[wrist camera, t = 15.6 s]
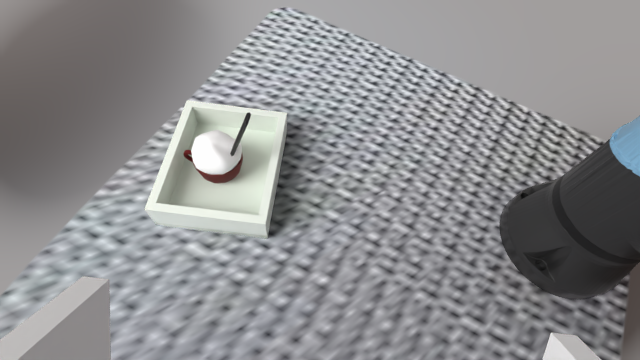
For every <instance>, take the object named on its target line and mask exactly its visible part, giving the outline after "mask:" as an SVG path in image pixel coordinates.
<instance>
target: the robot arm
mask: <svg viewBox="0 0 640 360" xmlns="http://www.w3.org/2000/svg"><path fill="white" fill-rule="evenodd" d="M500 234H501V239H502V242H503V245H504V248H505V250H506V252H507V254H508V256H509V257H510V259H511V261H512V262H513V263H514V265H515V266H516V267H517V269H518V270H519V271H520V272H521V273H522V274H523V275H524V276H525V277H526V278H527V279H529V280H530V281H531V282H532V283H534V284H535V285H537V286H538V287H540V288H541V289H543V290H545V291H547V292H549V293H551V294H554V295H556V296H559V297H563V298H568V299H587V298H591V297H594V296H597V295H600V294H603V293H606V292H608V291H610V290H611V289H613V288H615V287H616V286H617V285H618V284H619V283H620V282H621V280H622V279H623V278H624V277H625V276H626V275H627V274H628V273H629V272H630V271H631V270H632V269H633V268H634V267H635V266H636V265H637V264H638V263H639V262H640V116H639V117H637V118H636V119H634V120H633V121H632V122H630V123H627V124H625V125H623V126H621V127H620V128H619V129H617V130H616V131H615V132H614V133H613V134H612V137H611V139H609V140H608V141H607V142H605V143H604V144H603V145H602V146H600V147H599V148H598V149H597V150H595V151H594V152H593V153H591V154H590V155H589V156H588V157H586V158H585V159H584V160H582V161H581V162H580V163H579V164H577V165H576V166H575V167H573V168H572V169H571V170H570V171H568V172H567V173H566V174H565V175H563V176H562V177H561V178H559V179H555V180H552V181H549V182H545V183H542V184H539V185H535V186H532V187H529V188H527V189H525V190H523V191H522V192H520V193H519V194H518V195H516V196H515V197H514V198H513V199H512V200H511V201H510V202H509V203H508V204H507V205H506V206H505V208H504V210H503V212H502V215H501V219H500ZM110 359H111V346H110V295H109V279H101V278H92V277H84V276H83V277H81V278H80V279H79V280H78V281H76V282H75V283H74V284H72V285H71V286H70V287H68V288H67V289H66V290H65V291H63V292H62V293H61V294H59V295H58V296H57V297H55V298H54V299H53V300H51V301H50V302H49V303H48V304H46V305H45V306H44V307H42V308H41V309H40V310H38V311H37V312H36V313H35V314H33V315H32V316H31V317H29V318H28V319H27V320H25V321H24V322H23V323H21V324H20V325H19V326H18V327H16V328H15V329H14V330H12V331H11V332H10V333H8V334H7V335H6V336H5V337H3V338H2V339H1V340H0V360H110ZM542 360H601V359H600V358H599V357H598V356H597V355H596V354H595V353H594V352H593V351H592V350H591V349H590V348H589V347H588V346H587V345H586V344H585V343H584V342H583V341H582V340H581V339H580V338H579V337H578V336H576V335H568V334H560V333H551V335H550V338H549V341H548V344H547V347H546V350H545V353H544V356H543V359H542Z"/></svg>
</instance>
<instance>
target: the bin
mask: <svg viewBox="0 0 640 360" xmlns="http://www.w3.org/2000/svg"><path fill="white" fill-rule="evenodd" d="M249 112H250V114H251V117H250V120H249V123H248V125H247V127H246V130H245V132H244V134H243V136H242V138H241V141H240V143H241V146H242V154H243V162H242V165H241V169H240V172H239V174H238V175H237V176H236V177H235V178H234V179H232V180H230V181H228V182H226V183H213V182H210V181H207V180H206V179H204V178H203V176H202V175H201V174H200V173H199V172H198V171H197V170H196V169H195V167H194V164H193V162H191V161H189V160H188V159H186V158H185V157H184V155H183V153H184V151H185V150H192V147H193V143H194V140H195V138H196V137H197V136H199V135H201V134H203V133H206V132H210V131H214V130H220V131H222V132H224V133H226V134H228V135H229V136H231V137H232V138H233V139H235V140H236V137H237V135H238V133H239V130H240V128H241V126H242V123H243V121H244V119H245V116H246V114H247V113H249ZM286 136H287V113H283V112H275V111H267V110H259V109H251V108H243V107H235V106H227V105H220V104H212V103H204V102H196V101H188V100H187V102H186V104H185V107H184V109H183V112H182V114H181V117H180V119H179V122H178V125H177V127H176V130H175V132H174V135H173V137H172V140H171V143H170V145H169V148H168V150H167V153H166V155H165V158H164V160H163V163H162V166H161V168H160V171H159V173H158V176H157V178H156V181H155V184H154V186H153V189H152V191H151V194H150V196H149V199H148V201H147V204H146V207H145V209H144V210H145V211H146V212H147V214H148V215H149V216H150V217H151V219H152V220H153V221H154V223H155V224H156V225H158V226H166V227H175V228H183V229H191V230H199V231H207V232H216V233H224V234H232V235H240V236H248V237H257V238H265V239H267V238H268V233H269V227H270V222H271V217H272V211H273V206H274V200H275V195H276V190H277V184H278V179H279V174H280V168H281V163H282V157H283V152H284V147H285V141H286ZM188 155H189V154H188ZM189 156H191V157H192V155H189Z"/></svg>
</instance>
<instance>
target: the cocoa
mask: <svg viewBox="0 0 640 360" xmlns="http://www.w3.org/2000/svg"><path fill="white" fill-rule="evenodd" d="M250 117H251V114H250V112H249V113H247V114H246V116H245V119H244V121H243V123H242V126H241V128H240V130H239V133H238V135H237V137H236V140H235V139H233V138H232V137H231V136H229V135H228V134H226V133H224V132H222V131H220V130H214V131H210V132H206V133H203V134H201V135H199V136H197V137H196V138H195V140H194V143H193V147H192V150H185V151H184V153H183V155H184V157H185V158H186V159H188V160H189V161H191V162H193V164H194V167H195V169H196V170H197V171H198V172H199V173H200V174H201V175H202V176H203V178H204V179H206V180H207V181H210V182H213V183H226V182H228V181H230V180H232V179H234V178H235V177H236V176H237V175H238V174H239V172H240V169H241V165H242V162H243V154H242V146H241V143H240V141H241V138H242V136H243V134H244V132H245V130H246V127H247V125H248V123H249V120H250ZM188 154H189V155H192V157H191V156H189V155H188Z"/></svg>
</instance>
